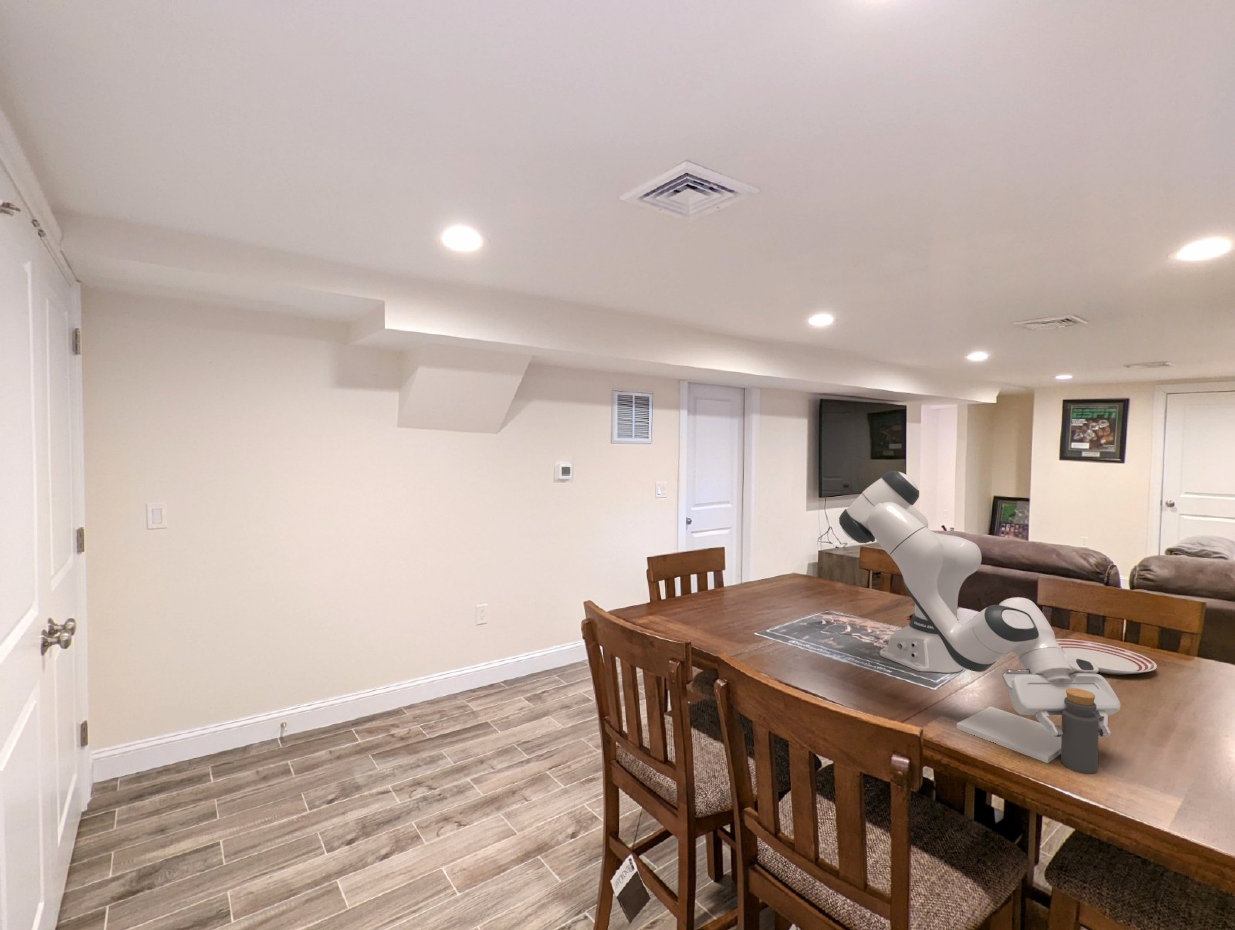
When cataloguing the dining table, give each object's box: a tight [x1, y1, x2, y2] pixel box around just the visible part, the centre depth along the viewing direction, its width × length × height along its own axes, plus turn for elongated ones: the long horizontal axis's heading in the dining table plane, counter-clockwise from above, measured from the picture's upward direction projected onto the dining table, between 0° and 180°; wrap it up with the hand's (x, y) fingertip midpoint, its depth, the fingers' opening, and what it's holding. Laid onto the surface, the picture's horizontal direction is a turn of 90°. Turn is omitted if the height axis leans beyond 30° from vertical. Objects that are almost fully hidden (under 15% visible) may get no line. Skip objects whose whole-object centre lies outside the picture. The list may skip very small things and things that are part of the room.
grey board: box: [956, 706, 1062, 764], centre depth 133 cm, size 18×16×1 cm
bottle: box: [1060, 688, 1099, 775], centre depth 119 cm, size 6×6×15 cm
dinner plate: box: [1055, 638, 1158, 675], centre depth 176 cm, size 27×27×3 cm
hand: (1081, 736), depth 119 cm, fingers open, 8 cm apart
